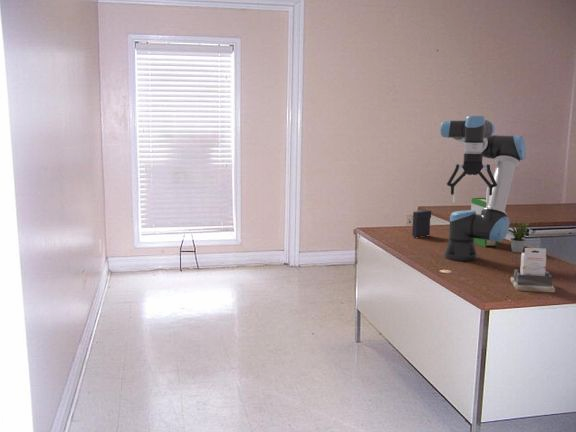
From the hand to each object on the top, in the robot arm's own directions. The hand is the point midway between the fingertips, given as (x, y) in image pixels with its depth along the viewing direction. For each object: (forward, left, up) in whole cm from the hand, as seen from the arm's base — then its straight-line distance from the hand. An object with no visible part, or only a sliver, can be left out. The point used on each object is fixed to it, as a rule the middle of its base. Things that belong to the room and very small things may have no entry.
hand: (470, 202), depth 232 cm
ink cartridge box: (+13, +24, -30) cm, 41 cm away
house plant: (-50, +30, -32) cm, 66 cm away
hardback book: (-65, +15, -32) cm, 74 cm away
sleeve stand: (+13, +24, -32) cm, 42 cm away
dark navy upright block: (-76, -18, -32) cm, 84 cm away
